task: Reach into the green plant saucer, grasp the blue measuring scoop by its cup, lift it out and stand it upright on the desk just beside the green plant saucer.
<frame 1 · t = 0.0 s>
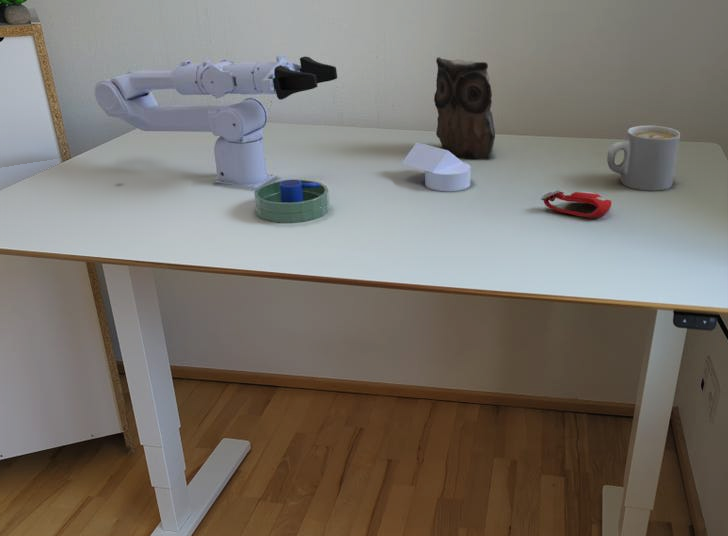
hand: (326, 77, 143), 22 cm above the table, tool horizontal, fingers open, 7 cm apart
wedge on round base: (440, 182, 160), on the table
coffee mug: (637, 183, 159), on the table
tracker holder: (576, 211, 146), on the table
green plant saucer: (293, 212, 146), on the table
owl: (470, 152, 178), on the table
scoop: (293, 209, 145), resting on green plant saucer
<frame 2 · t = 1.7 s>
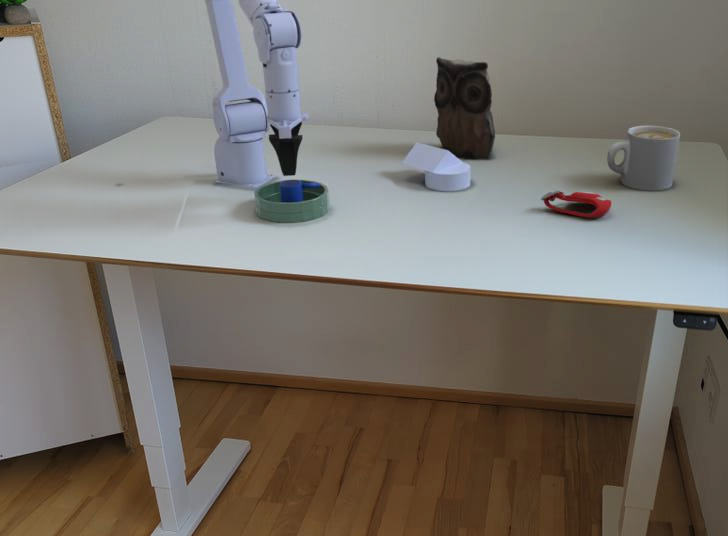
hand: (289, 168, 141), 8 cm above the table, tool pointing down, fingers open, 7 cm apart
nothing on the table moved.
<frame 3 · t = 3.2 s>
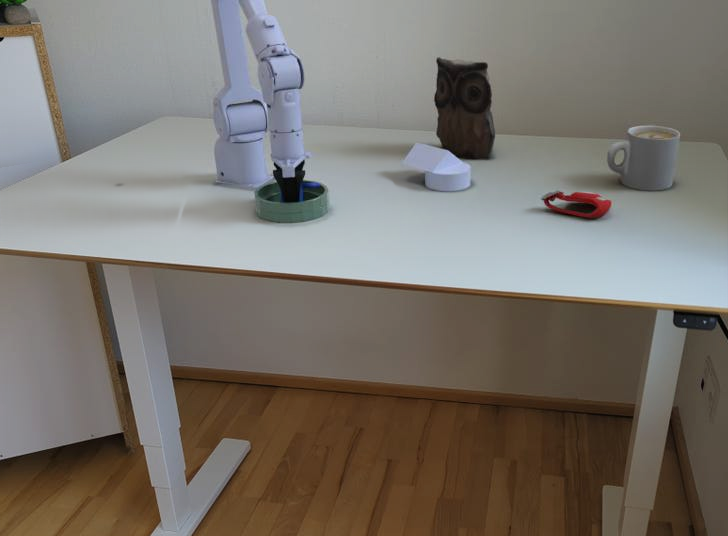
hand: (292, 203, 145), 2 cm above the table, tool pointing down, fingers closed on scoop, 4 cm apart
scoop: (293, 209, 145), resting on green plant saucer, touching gripper
everything else where it was.
when the fingers open (1 cm above the table, at t = 7.8 s): scoop stays where it is, on the table.
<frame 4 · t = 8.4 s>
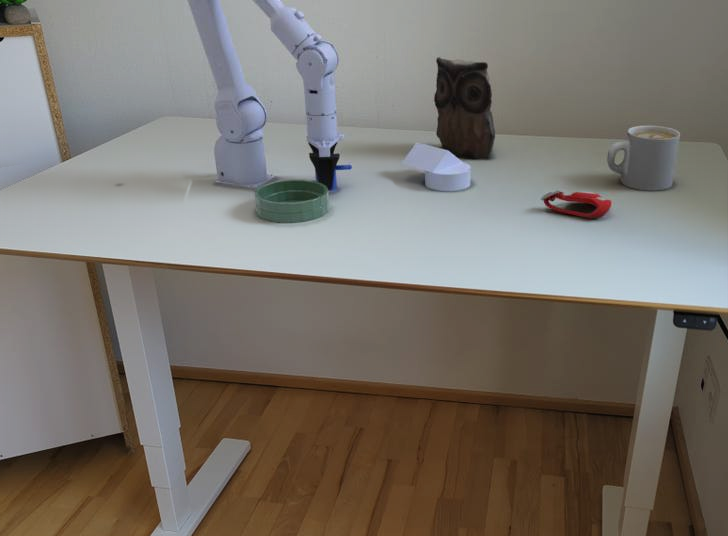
hand: (325, 183, 155), 1 cm above the table, tool pointing down, fingers open, 7 cm apart
scoop: (326, 190, 156), on the table
everything else where it was.
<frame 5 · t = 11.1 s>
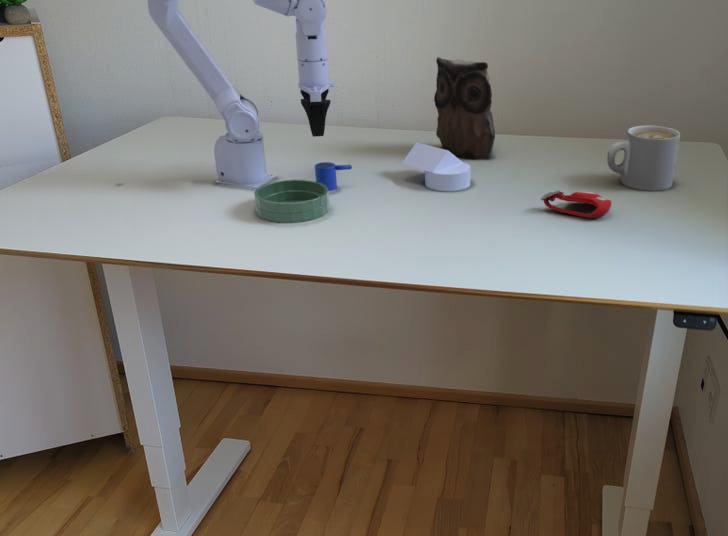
hand: (317, 130, 158), 9 cm above the table, tool pointing down, fingers open, 7 cm apart
nothing on the table moved.
at the end: scoop inside the target area (0.1 cm from its centre), on the table; scoop tilted 0°; scoop touching table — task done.
